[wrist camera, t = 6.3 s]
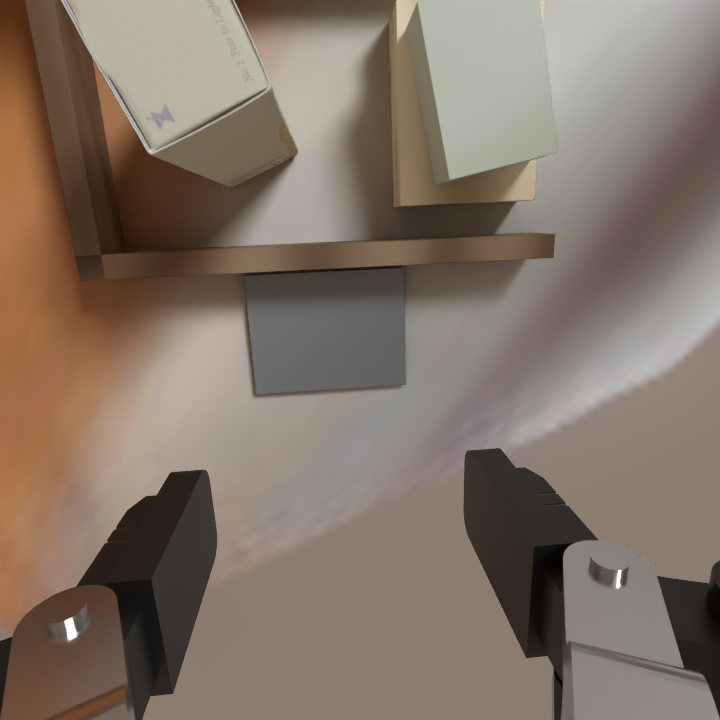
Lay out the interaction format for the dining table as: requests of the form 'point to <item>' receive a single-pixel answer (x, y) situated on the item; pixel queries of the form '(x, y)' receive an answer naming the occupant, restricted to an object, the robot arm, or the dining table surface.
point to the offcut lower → (411, 145)
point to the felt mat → (327, 329)
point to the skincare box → (188, 83)
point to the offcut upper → (481, 84)
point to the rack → (110, 260)
